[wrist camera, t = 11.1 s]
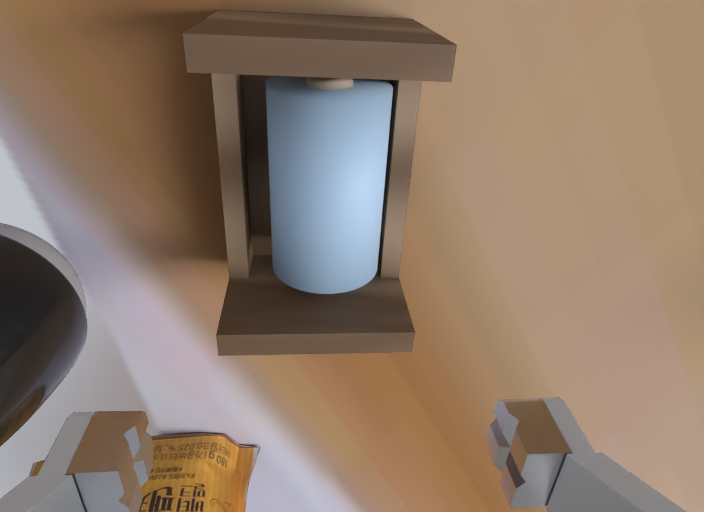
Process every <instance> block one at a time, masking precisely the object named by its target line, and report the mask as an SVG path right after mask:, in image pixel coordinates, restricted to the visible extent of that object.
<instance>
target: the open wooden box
mask: <svg viewBox="0 0 704 512" xmlns="http://www.w3.org/2000/svg"><path fill="white" fill-rule="evenodd" d="M182 34H183V43H184V51H185V60H186V69H187V73H211V78H212V89H213V100H214V112H215V123H216V134H217V145H218V157H219V168H220V179H221V191H222V202H223V213H224V224H225V236H226V247H227V258H228V270H229V282H228V286H227V291H226V295H225V299H224V304H223V308H222V312H221V317H220V321H219V326H218V330H217V334H216V337H217V346H218V355H219V356H224V355H280V354H335V353H391V352H412V349H413V342H414V335H415V331H414V328H413V324H412V321H411V318H410V314H409V311H408V307H407V304H406V301H405V297H404V294H403V290H402V287H401V284H400V280H399V271H400V263H401V254H402V246H403V237H404V229H405V220H406V211H407V203H408V194H409V186H410V177H411V169H412V160H413V151H414V143H415V134H416V126H417V117H418V109H419V100H420V91H421V83H422V81H439V82H451V81H452V74H453V68H454V61H455V54H456V47H457V45H456V44H454V43H452V42H451V41H449V40H447V39H446V38H444V37H442V36H441V35H439V34H437V33H435V32H434V31H432V30H430V29H429V28H427V27H425V26H424V25H422V24H420V23H419V22H417V21H415V20H413V19H401V18H380V17H358V16H337V15H316V14H295V13H273V12H252V11H231V10H218V11H216V12H215V13H213V14H211V15H210V16H208V17H207V18H205V19H204V20H202V21H201V22H199V23H198V24H196V25H195V26H193V27H192V28H190V29H189V30H187V31H185V32H184V33H182ZM274 76H297V77H325V78H354V79H380V80H383V81H385V82H388V83H389V84H391V85H392V87H393V95H392V106H391V118H390V129H389V141H388V152H387V163H386V175H385V186H384V198H383V209H382V221H381V232H380V244H379V255H378V267H377V272H376V274H375V276H374V278H373V279H372V280H371V281H370V282H368V283H367V284H365V285H364V286H362V287H360V288H358V289H355V290H352V291H348V292H343V293H336V294H318V293H310V292H305V291H301V290H298V289H295V288H293V287H291V286H289V285H287V284H285V283H284V282H282V281H281V280H280V279H279V278H278V277H277V276H276V274H275V273H274V270H273V262H272V236H271V210H270V184H269V158H268V132H267V106H266V81H267V80H268V79H270V78H272V77H274Z"/></svg>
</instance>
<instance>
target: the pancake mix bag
mask: <svg viewBox="0 0 704 512" xmlns="http://www.w3.org/2000/svg"><path fill="white" fill-rule="evenodd" d="M152 441H153V462H152V469H151V472H150V476H149V479H148V481H147V482H145V483H144V484H143V485H142V486H141V487H140V489H141V493H142V497H143V499H142V503H141V506H140V509H139V512H245V507H246V496H247V491H248V486H249V481H250V477H251V474H252V471H253V468H254V465H255V462H256V459H257V456H258V453H259V450H260V447H254V446H243V445H238V444H237V443H236V442H234V441H233V440H232V439H230V438H229V437H228V436H226V435H225V434H211V433H194V434H177V435H158V436H152ZM44 461H45V460H44ZM44 461H40V462H36V463H34V464H33V466H32V469H31V472H30V475H29V476H37V474H38V472H39V471H40V469H41V467H42V465H43V463H44Z"/></svg>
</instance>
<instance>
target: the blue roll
mask: <svg viewBox="0 0 704 512" xmlns="http://www.w3.org/2000/svg"><path fill="white" fill-rule="evenodd" d="M392 95H393V87H392V85H391V84H389V83H388V82H385V81H383V80H380V79H354V78H325V77H297V76H274V77H272V78H270V79H268V80H267V81H266V106H267V132H268V158H269V184H270V210H271V236H272V262H273V270H274V273H275V274H276V276H277V277H278V278H279V279H280V280H281V281H282V282H284V283H285V284H287V285H289V286H291V287H293V288H295V289H298V290H301V291H305V292H310V293H318V294H336V293H343V292H348V291H352V290H355V289H358V288H360V287H362V286H364V285H365V284H367V283H368V282H370V281H371V280H372V279H373V278H374V276H375V274H376V272H377V267H378V255H379V244H380V232H381V221H382V209H383V198H384V186H385V175H386V163H387V152H388V141H389V129H390V118H391V106H392Z"/></svg>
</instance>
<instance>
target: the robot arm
mask: <svg viewBox="0 0 704 512" xmlns="http://www.w3.org/2000/svg"><path fill="white" fill-rule="evenodd" d="M494 414H495V416H496V418H497V419H496V420H495V421H494V422H492V423H491V424H490V427H489V432H488V447H489V451H490V456H491V458H492V461H493V464H494V465H495V466H496V467H497V468H498V469H499V470H501V471H502V472H503V474H502V477H501V481H500V482H501V485H502V488H503V490H504V493H505V495H506V498H507V500H508V503H509V505H510V508H518V507H546V509H547V510H548V511H549V512H686V511H685V510H683V509H682V508H680V507H679V506H678V505H676V504H675V503H673V502H672V501H670V500H669V499H668V498H666V497H665V496H663V495H662V494H660V493H659V492H658V491H656V490H655V489H653V488H652V487H650V486H649V485H647V484H646V483H645V482H643V481H642V480H640V479H639V478H637V477H636V476H635V475H633V474H632V473H630V472H629V471H627V470H626V469H625V468H623V467H622V466H620V465H619V464H617V463H616V462H614V461H613V460H612V459H610V458H609V457H607V456H606V455H604V454H603V453H596V452H595V451H594V449H593V448H592V446H591V444H590V443H589V441H588V439H587V438H586V436H585V434H584V433H583V431H582V430H581V428H580V426H579V425H578V423H577V421H576V420H575V418H574V416H573V415H572V413H571V411H570V410H569V408H568V407H567V405H566V403H565V402H564V400H562V399H561V398H560V397H558V398H539V399H538V398H529V399H505V400H498V401H497V403H496V404H495V408H494ZM147 425H148V420H147V416H146V412H143V411H98V412H73V413H72V414H71V415H70V416H69V417H68V418H67V419H66V421H65V423H64V425H63V427H62V429H61V431H60V433H59V435H58V436H57V438H56V440H55V442H54V444H53V446H52V448H51V450H50V452H49V454H48V455H47V457H46V459H45V461H44V463H43V465H42V467H41V469H40V471H39V472H38V474H37V476H29V477H28V478H27V479H25V480H24V481H23V482H21V483H20V484H19V485H18V486H16V487H15V488H14V489H12V490H11V491H10V492H8V493H7V494H6V495H4V496H3V497H2V498H1V499H0V512H139V509H140V506H141V503H142V499H143V497H142V493H141V489H140V487H141V486H142V485H143V484H144V483H145V482H147V481H148V479H149V476H150V472H151V469H152V462H153V441H152V436H150V435H149V434H148V433H146V432H145V431H146V428H147Z"/></svg>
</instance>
